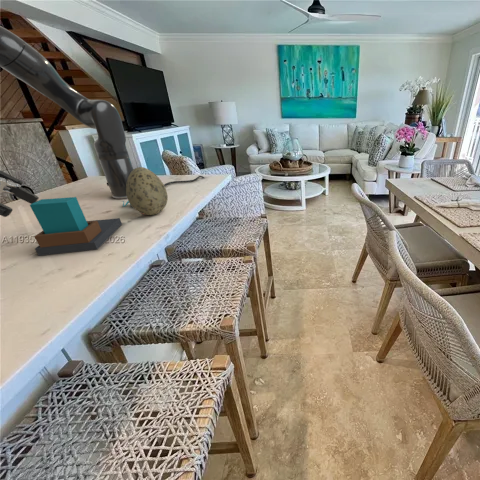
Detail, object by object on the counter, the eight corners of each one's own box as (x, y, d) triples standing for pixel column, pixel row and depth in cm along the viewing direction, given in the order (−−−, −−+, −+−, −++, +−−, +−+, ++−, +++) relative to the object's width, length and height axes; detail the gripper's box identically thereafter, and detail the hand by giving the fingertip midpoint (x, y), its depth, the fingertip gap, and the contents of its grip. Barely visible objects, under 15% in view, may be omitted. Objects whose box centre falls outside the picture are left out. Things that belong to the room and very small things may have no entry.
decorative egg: (162, 219, 82) (148, 170, 75) (126, 220, 81) (108, 171, 74) (177, 207, 91) (165, 163, 84) (145, 208, 91) (130, 163, 84)
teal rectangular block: (60, 237, 66) (40, 199, 62) (92, 234, 68) (76, 196, 63) (50, 244, 63) (29, 204, 58) (84, 241, 65) (66, 202, 60)
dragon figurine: (113, 208, 87) (135, 197, 88) (113, 195, 91) (134, 184, 92) (129, 220, 93) (150, 209, 93) (129, 207, 97) (149, 196, 97)
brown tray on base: (74, 228, 76) (67, 212, 74) (122, 224, 79) (116, 208, 76) (38, 256, 62) (27, 237, 60) (97, 249, 65) (89, 231, 63)
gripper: (-110, 147, 45) (8, 204, 53) (-37, 138, 58) (51, 186, 66) (-128, 180, 47) (-10, 231, 55) (-52, 164, 59) (36, 208, 67)
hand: (23, 206), depth 60 cm, fingers open, 8 cm apart
